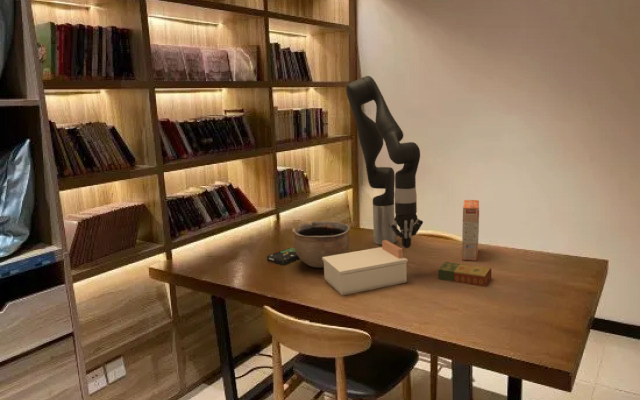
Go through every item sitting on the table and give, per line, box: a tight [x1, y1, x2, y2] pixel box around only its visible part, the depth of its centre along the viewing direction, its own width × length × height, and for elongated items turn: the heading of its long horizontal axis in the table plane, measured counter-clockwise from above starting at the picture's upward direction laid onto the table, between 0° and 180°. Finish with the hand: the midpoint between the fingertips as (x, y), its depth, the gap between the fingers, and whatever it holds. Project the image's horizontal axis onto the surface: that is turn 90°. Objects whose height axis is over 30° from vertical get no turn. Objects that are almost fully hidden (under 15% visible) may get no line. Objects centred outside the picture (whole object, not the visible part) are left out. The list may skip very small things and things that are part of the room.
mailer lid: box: [322, 240, 409, 275], centre depth 163 cm, size 25×16×4 cm, turn 110°
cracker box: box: [461, 199, 480, 262], centre depth 183 cm, size 14×6×21 cm, turn 161°
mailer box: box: [323, 262, 408, 296], centre depth 164 cm, size 24×16×7 cm, turn 110°
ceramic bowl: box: [292, 220, 351, 269], centre depth 182 cm, size 22×22×15 cm
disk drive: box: [266, 246, 301, 266], centre depth 193 cm, size 10×3×15 cm
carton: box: [437, 261, 492, 287], centre depth 162 cm, size 8×16×4 cm, turn 57°
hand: (406, 247), depth 168 cm, fingers closed
